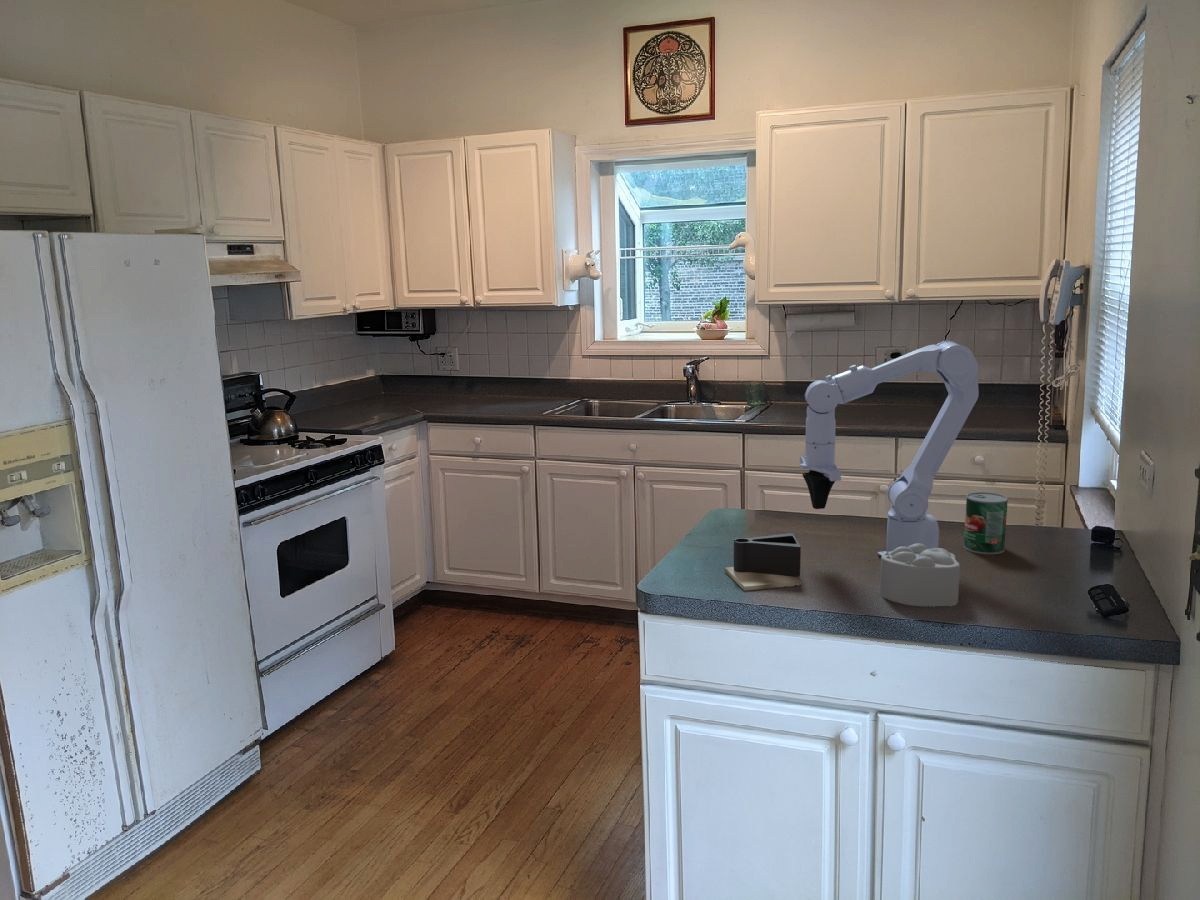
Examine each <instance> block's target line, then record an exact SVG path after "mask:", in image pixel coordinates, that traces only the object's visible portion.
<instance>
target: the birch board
mask: <svg viewBox="0 0 1200 900" xmlns="http://www.w3.org/2000/svg"><path fill="white" fill-rule="evenodd" d="M724 572H725V574H726V575H728V576H729V577H730V578H731V579H732V581H734V582H735V583H736V584H737V585H738V586H739V587H740V588H741V589H742V590H743V591H745V592H746V591H755V590H764V589H766V588H767V589H775V587H777V588H785V587H784V586H787V587H795V586H794V585H797V586H801V580H800V579H798V577H793V576H783V575H773V574H763V573H753V572H736V571H734V566H727V567H724Z"/></svg>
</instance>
